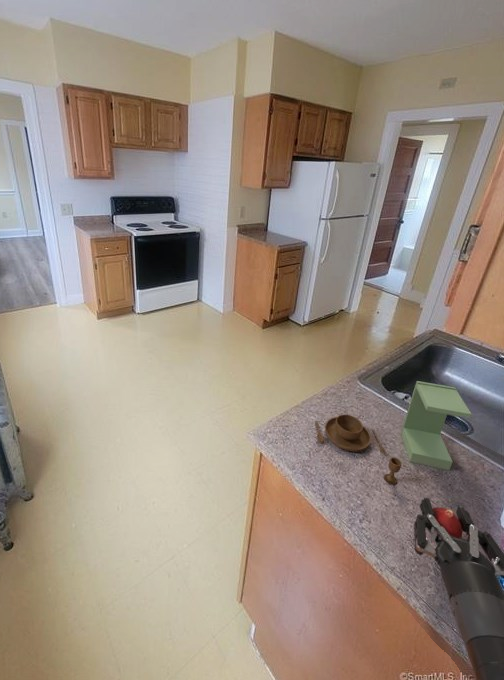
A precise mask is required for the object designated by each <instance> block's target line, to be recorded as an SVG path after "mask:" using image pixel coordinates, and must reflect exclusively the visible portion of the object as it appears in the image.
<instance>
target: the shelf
mask: <svg viewBox="0 0 504 680" xmlns="http://www.w3.org/2000/svg"><path fill="white" fill-rule="evenodd" d="M448 415H450V416H455V417H461V418H464V419H465V418H466V419H471V417H472V415H473V414H472V412H471V411H470V409H469V407H468V406H467V404H466V403H465V401H464V399H463V398H462V397H461V395H460V393H459V392H458V391H457V388H456V387H455V386H449V385H444V384H437V383H431V382H426V381H419V380H416V382H415V384H414V389H413V392H412V394H411V398H410V401H409V405H408V409H407V411H406V415H405V418H404V422H403V424H402V428H401V432H400V436H401V439H402V443H403V446H404V448H405V451H406V455H407V457H408V461H409V462H410V463H414V464H418V465H423V466H428V467H432V468H436V469H440V470H441V469H442V470H445V471H450V470H451V467H452V465H453V463H454V462H453V459H452V457H451V455H450V453H449V451H448V448H447V446H446V444H445V442H444V440H443V438H442V436H441V433H442V430H443V428H444V426H445V423H446V419H447V417H448Z"/></svg>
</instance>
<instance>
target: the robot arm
mask: <svg viewBox="0 0 504 680" xmlns="http://www.w3.org/2000/svg"><path fill="white" fill-rule="evenodd" d="M419 510H420V512H421V514H417V515H416V520H415V521H414V524H413V533H414V535H413V536H414V551H415V553H416V554H417V555H419V556H423V554H425V555H427V556H430V557H432V558H433V559H434V561H435V562H436V564H437V565H438V567H439V570H440V573H441V574H440V575H441V578H442V580H443V584H444V588H445V591H446V594H447V597H448V600H449V603H450V604H449V605H450V608H451V613H452V615H453V617H454V619H455V620H454V621H455V623H456V626H457V629H458V632H459V634H460V636H461V640H462V641H463V643H464V646H465V649H466V652H467V656H468V659H469V661H470V665H471V668H472V671H473V674H474V678H475V680H504V590H503V587H502V585H501V583H500V580H499V579H498V577H497V576H499V577H500V578H502V579H503V580H504V551H502V549H501V548H500V546H499V545H498V543H497V542H496V541H495V539H494V538H493V536H492V534H491V533H490V532H488V531H481V530H480V529H478V527H477V526H476V525H475V523H474V522H473V519H472V517H471V515H470V513H469V512H468V510H466V509H465V507H464V506H461V505H458V506H457V508H456V510H455V515H456V517H457V518H458V520H459V521H460V523H461V526H462V530H463V533H465V538H462V539H459V538H456V537H453V536H451V535H449V534H448V533H447V531H446V530H445V528H444V527H443V526H440V525H439V523H438V522H437V520H436V519H435V518H434V516H435V514H434V512H433V506H432V503H431V500H430V498H429V497H423V498H422V500H421V502H420V505H419ZM427 532H428V534H429V535H430V539H431V541H432V543H433V544H434V545H435V547H433V546H432V544H431V542H430V539H429V538H428V537H427ZM479 547H481V549H482V550H483V552H484V553H485V555H486V556H485V555H484V554H483V553H482V552H481V551H480V549H479Z"/></svg>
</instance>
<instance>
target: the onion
mask: <svg viewBox="0 0 504 680" xmlns="http://www.w3.org/2000/svg"><path fill="white" fill-rule="evenodd" d="M432 509H433V512H434V514H435V516H434V518H435V519H436V520H437V522H438V523H439V525H440V526H443V527H444V528H445V530H446V531H447V533H448V534H449V535H451V536H453V537H456V538H459V539H463V533H464V532H463V530H462V526H461V523H460V521H459V520H458V517H457V515H456V513H454V511H453V510H452V509H447V508H445V507H441V506H440V507H439V506H438V507H437V506H435V507H432Z"/></svg>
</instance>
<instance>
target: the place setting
mask: <svg viewBox="0 0 504 680" xmlns="http://www.w3.org/2000/svg"><path fill="white" fill-rule="evenodd" d="M314 422H315V423H314V424H315V427H316V431H317V434H316V438H317V440H318V441H319V442H320V443H323V442H324V441H325V437H324V436H323V434H322V433H321V432H320V427H319V423H318V421H317V420H315V421H314ZM324 432H325V435H326V437H327V438H328V440H329V441H330V442H331V443H332V444H333V445H335V446H336V447H338V448H340V449H342V450H345V451H347V452H362V451H364V450H366V449H367V448H368V447H369V446H370V444H371V440H372V438H371V434H370V432H369V431H368V429H367V428H366V427H365V426H364V425H363V423H362V422H361V420H360V419H358V418H357V417H355V416H354V415H350V414H340V415H338V416H333V417H331V418H329V419H328V420H327V421H326V422H325V424H324ZM372 433H373V435H374V437H375V439H376V441H377V443H378V445H379V451H380V453H381V454H382V455H383V456H385V455H386V456H389V454H388V452H387V451H386V449H385V448H384V447H383V446H382V444H381V442H380V439H379V437H378V435H377V433H376V431H375V430H374V428H372ZM402 464H403V463H402V461H401V460H400V459H399V458H397V457H390V459H389V461H388V469H389V471H390V472H389V473H385V474H383V479H384V481H385V482H386V483H387V484H389V485H392V486H394V485H397V483H398V480H397V478H396V477H395V474H396V473H399V472H400V470H401V467H402Z"/></svg>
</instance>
